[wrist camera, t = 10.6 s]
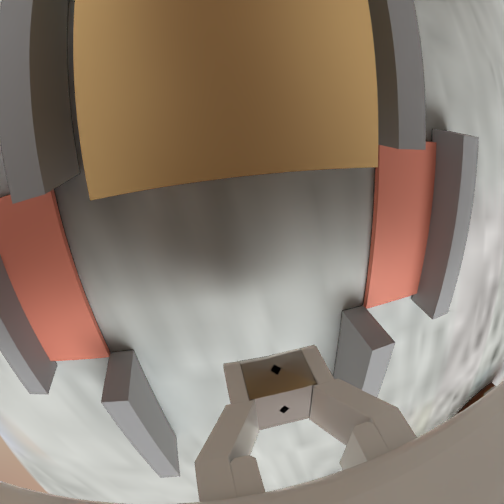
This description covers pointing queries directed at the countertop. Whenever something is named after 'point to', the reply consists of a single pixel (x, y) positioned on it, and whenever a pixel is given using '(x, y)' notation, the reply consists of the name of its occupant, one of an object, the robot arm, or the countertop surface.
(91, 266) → the countertop surface
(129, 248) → the countertop surface
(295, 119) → the honey block
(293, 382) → the robot arm
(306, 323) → the countertop surface
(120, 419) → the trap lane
